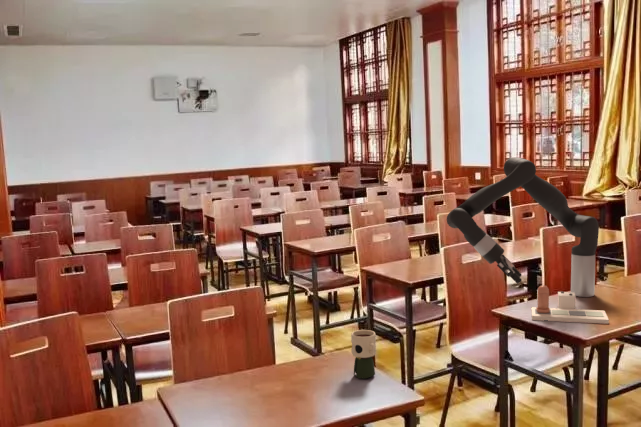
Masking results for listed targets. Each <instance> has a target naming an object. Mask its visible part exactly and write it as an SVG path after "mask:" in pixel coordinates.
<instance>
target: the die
mask: <svg viewBox="0 0 641 427" xmlns="http://www.w3.org/2000/svg"><path fill="white" fill-rule="evenodd" d="M576 297H577V296H575V293H574V292H571V291H570V292H568V291H557V308H559V309H576V303H577V302H576V300H577V299H576Z"/></svg>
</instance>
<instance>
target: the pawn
mask: <svg viewBox="0 0 641 427" xmlns="http://www.w3.org/2000/svg"><path fill="white" fill-rule="evenodd" d="M536 306H537V308H536V312H538V313H549V312H550V308H551V307H550V289H549V287H548V286H547V285H543V284H542V285H540V286H538V287H537V305H536Z"/></svg>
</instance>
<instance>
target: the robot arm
mask: <svg viewBox="0 0 641 427" xmlns="http://www.w3.org/2000/svg"><path fill="white" fill-rule="evenodd" d="M533 162H534V161H533ZM533 162H532V161H531V160H529V159H526V158H522V157H518V156H513V157H510V158H508V159H507V160H505V161H504V164H503V172H504V175H505V177H504V178H502V179H499V180H498V181H496V182H494V183H492V184H489V185H487V186H484V187H482V188H481V189H479V190H477V191H476V192H475V193H473V194H472V195H471V196H469V197H468V198H467V199H466V200H465V201H464V202H463V203H462V204H460V205H459V206H456V207H455V208H454V209H452V210H451V211H450V212H449V213H448V214H447V216H446V224H447V225H448V227H450V228H453V229H458V230H459V231H460V232H461V233H462V234H463V238H464V239H465V240H466V242H468V243H469V244H470V245H471V246H472V247H473V248H474V250H475V251H476V252H477V253H478V254H479V255H480V256H481V257H482V258H483V259H484V260H485V261H486V262H487V263H488V264H490V265H492V264H494V263H495V262H496V263H497V264H496V266H497V267H498V268H499V269H500V270H501V271H502V272H503V274H505V276H506V277H508V278H511V279H512V280H513V281H514V282H515V283H516V284H520V283H521V282H522V278H521V277H522V273H521V272H520V271H519V270H518V269H517V268H516V267H515V265H514V263H513V262H512V261H510V260H509V258H507V256H505V255H504V253H505V249H504V248H503V247H501V245H500V244H499V243H498V242H497V241H495V239H493V237H492V236H491V235H489V234H488V233H487V232H485V231H484V230H483V229H482V228H481V226H479V225H478V224H477V222H476V221H475V220H474V217H475V216H476V215H478V214H481V212H482V211H484V210H485V209H487V208H488V207H489V206H491V205H492V204H493V203H494V202H496V201H497V200H499V199H501V198H502V197H504V196H506V195H507V194H509V193H511V192H513V191H514V190H516V189H518V188H522V189H523V190H524V191H525V192H526V193H527V194H528V195H529V196H530V197H532V199H533V200H535V202H536V203H537V204H538V205H540V207H542V209H544V210H545V211H546V212H548V213H549V214H550V215H551V216H552V217H553V218H554V219H556V220H557V221H558V222H559V223H560V224H561V225H562V227H563V228H564V229H566V231H567V232H568V233H569V234H570V235H571V236H573V237H576V238H580V240H579V244H577V245H573V246H571V256H570V257H571V260H570V261H571V264H570V267H571V268H570V270H571V272H570V292H574V293H575V296H576V297H580V298H582V297H583V298H590V297H591V298H592V297H593V296H595V291H596V290H595V287H596V286H595V285H596V284H595V283H596V282H595V281H596V251H597V248H598V246H599V245H598V244H599V233H600V232H599V231H600V230H599V229H600V226H599V222H598V219H596V217H594V216H588V215H583V214H579V213H577V212H575V211H574V210H573V209H571V208H570V206H569V205H568V204H569V203H568V199H567V197H566V196H565V194H563V192H562V191H561V190H559V189H558V187H556V186H555V185H554V184H552V183H551V182H548V181H547V180H545V179H544V178H541V177H540V176H539V175H537V174H536V172H537V168H536V165H535V163H533Z"/></svg>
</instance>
